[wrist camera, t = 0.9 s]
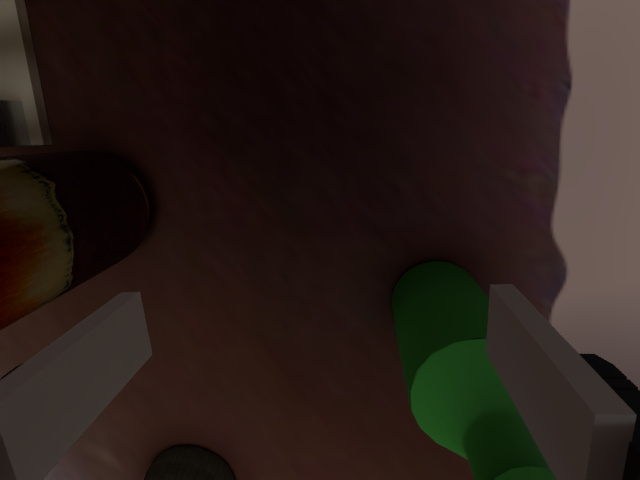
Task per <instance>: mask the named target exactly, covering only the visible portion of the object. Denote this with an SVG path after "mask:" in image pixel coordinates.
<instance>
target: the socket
mask: <svg viewBox="0 0 640 480" xmlns="http://www.w3.org/2000/svg"><path fill="white" fill-rule="evenodd" d="M26 145H31V143H30V138H29V133H28V128H27V123H26V119H25V114H24V109H23V104H22V102H21V101H7V100H0V147H9V146H26Z"/></svg>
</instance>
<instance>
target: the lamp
mask: <svg viewBox="0 0 640 480" xmlns="http://www.w3.org/2000/svg"><path fill="white" fill-rule="evenodd" d="M144 480H235V479H234V476H233V473H232V471H231V470H230V468H229V467H228V465H227V464H226V463H225V462H224V461H223V460H222V459H221V458H220V457H219V456H217V455H216V454H214V453H212V452H211V451H209V450H206V449H203V448H200V447H196V446H188V445H186V446H177V447H173V448H170V449H167V450H165V451H164V452H162V453H161V454H160V455H158V456H157V457H156V458H155V460H154V461H153V463H152V464H151V466H150V467H149V469H148V470H147V473H146V475H145V478H144Z"/></svg>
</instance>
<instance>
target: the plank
mask: <svg viewBox="0 0 640 480" xmlns="http://www.w3.org/2000/svg"><path fill="white" fill-rule="evenodd" d="M0 100H7V101H21V102H22V104H23V109H24V114H25V119H26V123H27V128H28V133H29V138H30V143H31V145H51V144H52V139H51V134H50V129H49V124H48V118H47V113H46V108H45V103H44V98H43V93H42V88H41V82H40V77H39V72H38V67H37V62H36V57H35V52H34V47H33V41H32V36H31V31H30V26H29V21H28V16H27V11H26V5H25V0H0Z"/></svg>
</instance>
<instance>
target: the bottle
mask: <svg viewBox="0 0 640 480" xmlns="http://www.w3.org/2000/svg"><path fill="white" fill-rule="evenodd" d="M391 303H392V314H393V319H394V325H395V330H396V336H397V341H398V346H399V352H400V357H401V362H402V367H403V372H404V377H405V382H406V388H407V393H408V398H409V403H410V408H411V411H412V413H413V415H414V417H415V419H416V421H417V423H418V425H419V427H420V428H421V429H422V430H423V431H424V432H425V433H426V434H427V435H428V436H430V437H431V438H432V439H433V440H434V441H435V442H436V443H438V444H440V445H442V446H444V447H445V448H447V449H449V450H451V451H453V452H455V453H457V454H459V455H460V456H462V457H464V458H466V459H468V461H469V464H470V467H471V470H472V473H473V476H474V479H475V480H556V479H555V477H554V475H553V473H552V471H551V470H550V468H549V466H548V464H547V462H546V461H545V459H544V457H543V455H542V453H541V452H540V450H539V448H538V446H537V444H536V442H535V441H534V439H533V437H532V435H531V433H530V432H529V430H528V428H527V426H526V424H525V423H524V421H523V419H522V417H521V415H520V414H519V412H518V410H517V408H516V406H515V405H514V403H513V401H512V399H511V397H510V396H509V394H508V392H507V390H506V388H505V387H504V385H503V383H502V381H501V379H500V378H499V376H498V374H497V372H496V370H495V369H494V367H493V365H492V363H491V361H490V360H489V358H488V356H487V354H486V342H487V326H488V310H489V297H488V296H487V295H486V293H485V292H484V291H483V289H482V288H481V287H480V286H479V284H478V283H477V282H476V281H475V279H474V278H473V277H472V276H471V275H470V274H469V273H468V272H467V271H466V270H465V269H463V268H461V267H459V266H457V265H455V264H452V263H450V262H440V261H432V262H427V263H423V264H419V265H417V266H415V267H414V268H412V269H411V270H409V271H407V272H406V273H405V274H404V275H403V276H402V277H401V279H400V280H399V281H398V282H397V283H396V285H395V288H394V291H393V294H392V297H391Z"/></svg>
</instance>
